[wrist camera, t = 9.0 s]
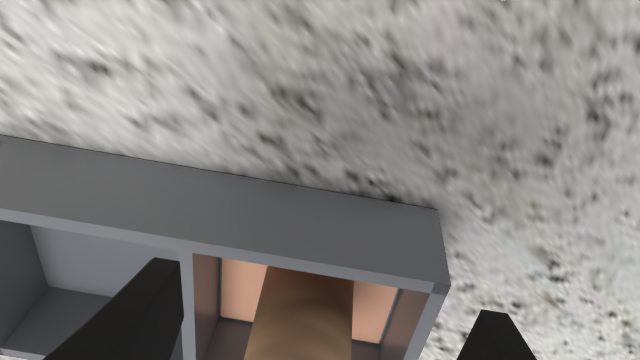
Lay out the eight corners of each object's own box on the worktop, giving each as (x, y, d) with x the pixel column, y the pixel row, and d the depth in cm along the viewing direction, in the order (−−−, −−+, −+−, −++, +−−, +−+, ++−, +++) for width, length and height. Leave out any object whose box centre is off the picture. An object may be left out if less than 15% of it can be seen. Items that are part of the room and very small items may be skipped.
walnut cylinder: (362, 256, 22) (361, 368, 17) (344, 316, 24) (338, 430, 19) (270, 238, 22) (242, 347, 17) (261, 301, 24) (234, 411, 19)
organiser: (437, 209, 21) (451, 285, 17) (388, 343, 27) (390, 422, 23) (-2, 134, 21) (-83, 194, 17) (45, 284, 27) (-9, 353, 23)
